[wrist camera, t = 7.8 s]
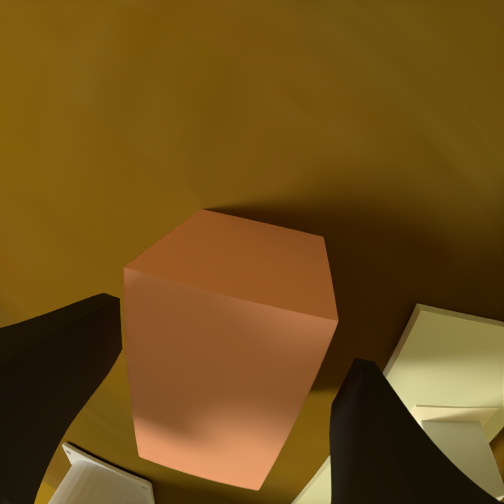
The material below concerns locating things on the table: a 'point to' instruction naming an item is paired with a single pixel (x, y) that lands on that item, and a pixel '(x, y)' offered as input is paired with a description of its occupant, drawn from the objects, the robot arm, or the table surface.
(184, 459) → the coral brick
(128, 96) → the table surface
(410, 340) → the baseplate
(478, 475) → the beige brick
